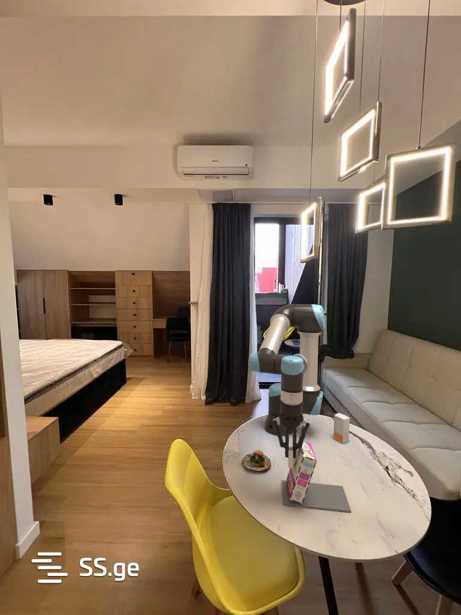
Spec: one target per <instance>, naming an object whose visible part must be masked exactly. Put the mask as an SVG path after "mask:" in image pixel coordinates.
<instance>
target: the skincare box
mask: <svg viewBox="0 0 461 615" xmlns="http://www.w3.org/2000/svg"><path fill="white" fill-rule="evenodd" d="M350 420H351V417H349V416H347V415H345V414H342V413H339V412H338V413H335V414H334V415H333V433H332V434H333V439H335V441H338V442H339V443H341V444H342V445H344V444H347V443H349V442H350V423H351V422H350Z"/></svg>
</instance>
